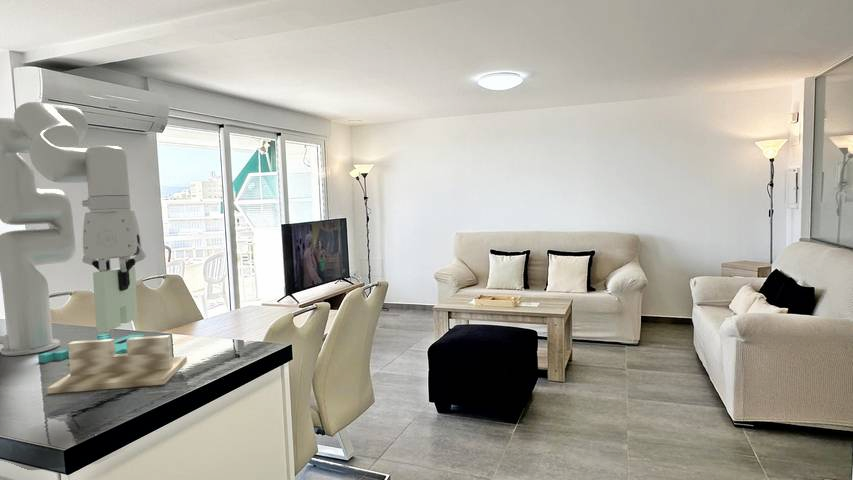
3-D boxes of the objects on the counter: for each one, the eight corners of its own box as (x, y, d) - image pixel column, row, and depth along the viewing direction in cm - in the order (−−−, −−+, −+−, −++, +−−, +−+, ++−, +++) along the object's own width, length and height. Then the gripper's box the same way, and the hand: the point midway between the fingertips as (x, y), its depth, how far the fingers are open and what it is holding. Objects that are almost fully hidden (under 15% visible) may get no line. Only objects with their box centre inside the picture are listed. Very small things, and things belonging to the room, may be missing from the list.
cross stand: (47, 393, 105) (44, 353, 104) (86, 368, 121) (83, 333, 120) (164, 384, 109) (161, 345, 108) (186, 361, 124) (184, 327, 124)
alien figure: (38, 364, 127) (110, 366, 123) (38, 355, 127) (109, 357, 123) (104, 341, 147) (167, 343, 143) (103, 333, 147) (166, 335, 143)
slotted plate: (128, 318, 121) (125, 266, 121) (138, 318, 121) (134, 266, 121) (96, 332, 105) (92, 272, 105) (107, 331, 105) (103, 272, 105)
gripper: (60, 206, 107) (67, 295, 108) (143, 203, 109) (150, 290, 111) (78, 206, 114) (85, 289, 116) (156, 203, 117) (162, 285, 118)
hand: (117, 289), depth 113 cm, fingers closed on slotted plate, 2 cm apart
